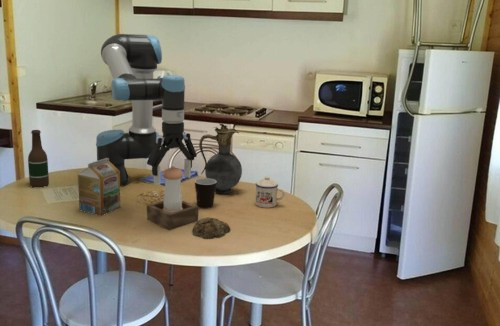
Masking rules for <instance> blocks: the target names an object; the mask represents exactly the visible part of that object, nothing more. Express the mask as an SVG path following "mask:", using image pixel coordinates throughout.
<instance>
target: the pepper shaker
mask: <svg viewBox="0 0 500 326" xmlns="http://www.w3.org/2000/svg"><path fill="white" fill-rule="evenodd" d="M178 168H179V167H178ZM178 168H177V167H175V166H174V165H173V166H170V167H168V168H166V169H164V170H163V171H164V172H163V177H164V178H165V186H164V187H165V188H164V195H163V201H164V208H163V210H164V211H167V212H169V213H172V212H176V211H179V210H183V208H182V201H183V196H182V195H183V194H182V190H181V189H182V188H181V183H182V182H181V178H182V176H183V172H182V171H181V170H180V169H181V168H179V169H178Z"/></svg>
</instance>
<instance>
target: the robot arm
mask: <svg viewBox="0 0 500 326" xmlns="http://www.w3.org/2000/svg"><path fill="white" fill-rule="evenodd" d="M162 54H163V52H162V46H161V43H160V41H159V39H158V37H157V36H155V35H150V34H131V33H130V34H129V33H127V34H126V33H118V34H114V35H112V36H110V37H108V38H107V39H106V40H105V41H104V42H103V44H102V46H101V49H100V56H101V59H102V61H103V62H104V63H105V64H106V65H107V66H108V69H109V71H110V74H111V76H112V78H113V79H112V80H111V87H110V88H111V95H112V99H113V100H115V101H123V102H126V101H132V106H131V107H132V116H131V118H132V119H131V120H132V121H131V126H130V127H129V128H128V132H125V131H124V130H123V129H110V130H109V129H108V130H105V131H101V132H99V133H98V134H97V135H96V141H95V142H96V143H95V146H96V161H98V160H102V159H105V158H109V162H110V163H112V164H113V165H114V166H115V167H116V168H117V169H118V171H119V172H120V188H121V187H125V186H127V185H129V183H130V178H129V174H128V171H127V169H126V168H127V167H126V165H125V163H126V162H125V160H134V159H135V160H137V159H139V160H140V159H147V161H146V165H148V166H151V175H154V184H153V185H156V184H157V186H161V185H160V172H161V166H160V164H161V162H162V160H163V159H164V157H165V156H166V154H167V153H168V152H169V151H170V150H173V149H174V148H175V149H177V148H178V149H179V150H180V152H181V153H182V154H183V155H184V157H185V158H184V164H183V165H184V166H183V169H184V176H185V177H188V178H191V171H192V167H193V161H194V160H195V158H197V156H198V154H197V151H196V150H195V146H194V145H193V142H192V139H191V134H190V133H188V132H186V131H185V122H184V121H185V94H186V93H185V90H186V84H185V78H184V77H183V75H176V74H175V75H173V74H172V75H171V74H168V75H163V76H162V77H158V78H154V72H156V70H157V69H158V65H160V64H161V63H162V60H163V55H162ZM154 101H161V121H162V122H161V132H162V136H161V137H160V134H159V133H158V132H157V131H156V128H155V127H154V126H153V107H154V106H153V105H154V104H153V103H154ZM183 141H184V142H183Z"/></svg>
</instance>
